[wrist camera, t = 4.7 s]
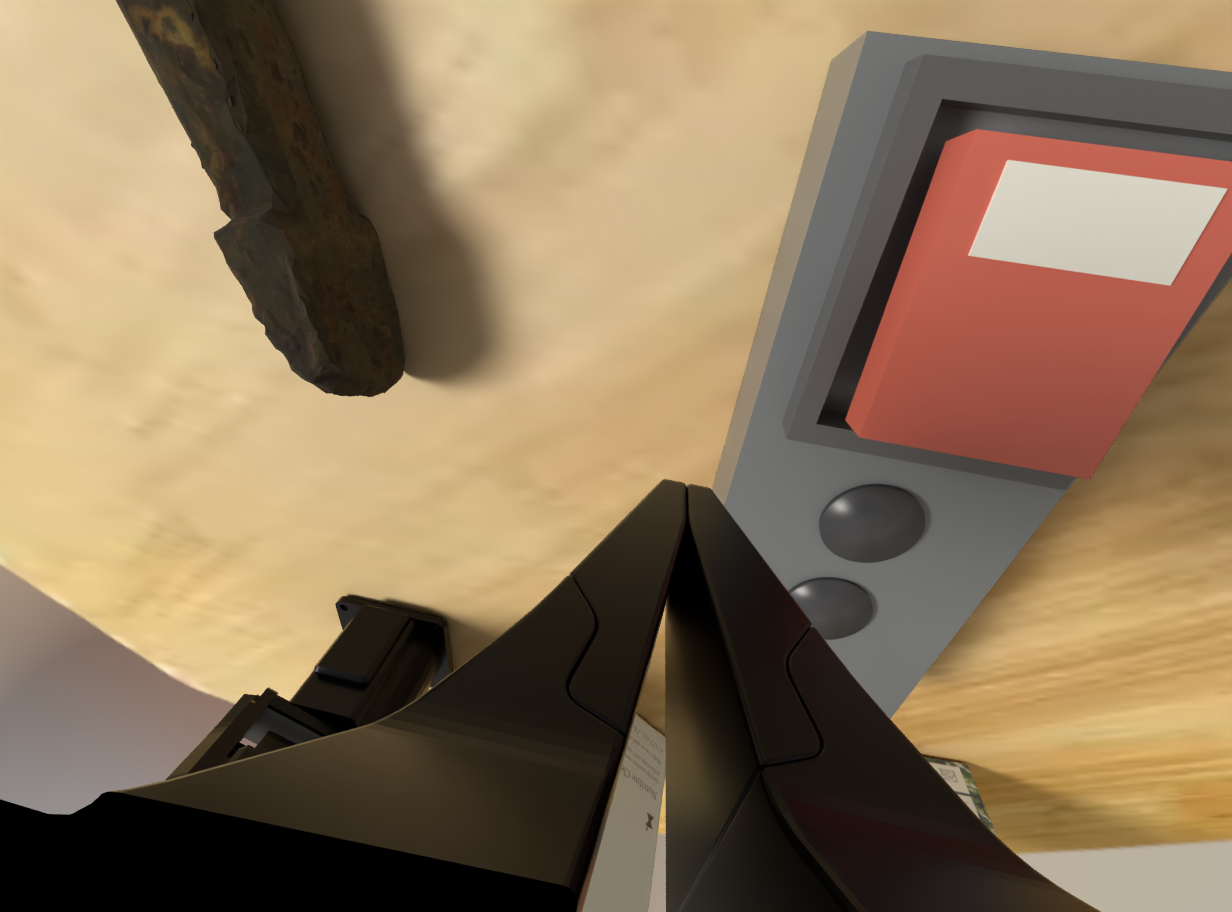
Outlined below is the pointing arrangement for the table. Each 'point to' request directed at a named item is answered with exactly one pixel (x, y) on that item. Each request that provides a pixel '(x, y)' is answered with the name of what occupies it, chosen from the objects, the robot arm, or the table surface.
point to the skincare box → (631, 827)
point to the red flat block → (1041, 298)
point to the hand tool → (276, 189)
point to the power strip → (852, 311)
